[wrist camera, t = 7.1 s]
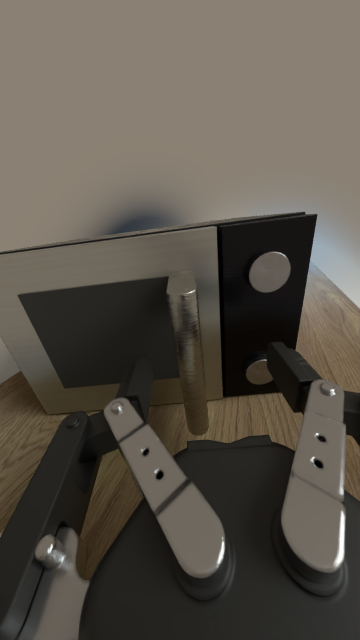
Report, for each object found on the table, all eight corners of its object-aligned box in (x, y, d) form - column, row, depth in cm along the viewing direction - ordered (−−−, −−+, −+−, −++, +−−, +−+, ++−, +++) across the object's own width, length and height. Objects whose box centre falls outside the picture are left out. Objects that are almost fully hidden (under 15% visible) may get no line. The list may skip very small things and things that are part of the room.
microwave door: (236, 454, 17) (238, 228, 9) (8, 471, 18) (-162, 281, 10) (220, 388, 24) (213, 226, 16) (55, 403, 25) (-27, 258, 17)
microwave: (292, 398, 21) (325, 209, 14) (45, 419, 23) (-55, 260, 15) (235, 309, 43) (235, 217, 36) (110, 323, 45) (84, 238, 37)
